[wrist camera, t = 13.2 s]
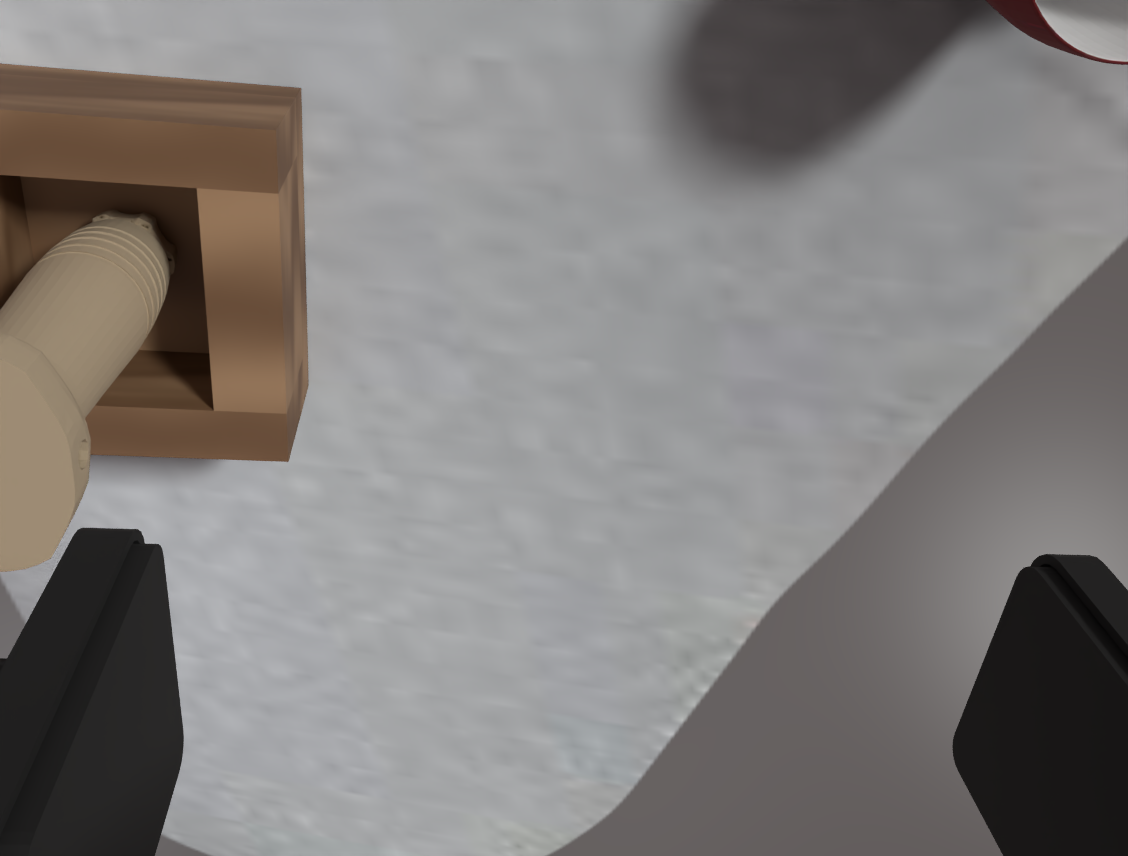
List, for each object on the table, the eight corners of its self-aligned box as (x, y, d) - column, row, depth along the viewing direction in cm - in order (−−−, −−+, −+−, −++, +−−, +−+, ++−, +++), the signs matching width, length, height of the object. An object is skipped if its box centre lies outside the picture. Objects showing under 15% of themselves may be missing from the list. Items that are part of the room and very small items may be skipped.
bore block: (-57, 59, 36) (-145, 98, 30) (301, 87, 37) (276, 130, 32) (1, 371, 41) (-64, 448, 36) (308, 385, 43) (288, 461, 38)
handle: (73, 322, 39) (-117, 566, 26) (54, 153, 36) (-171, 336, 23) (205, 332, 40) (85, 576, 27) (199, 168, 37) (59, 354, 24)
